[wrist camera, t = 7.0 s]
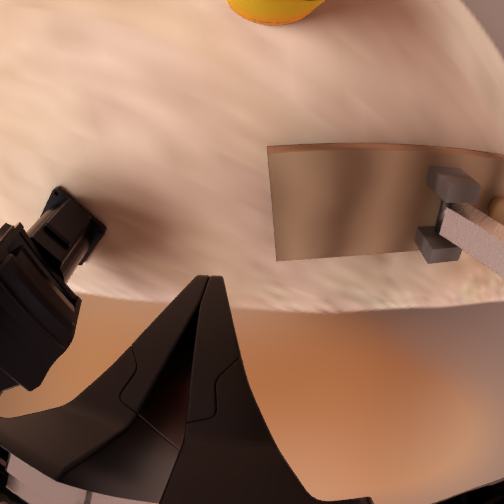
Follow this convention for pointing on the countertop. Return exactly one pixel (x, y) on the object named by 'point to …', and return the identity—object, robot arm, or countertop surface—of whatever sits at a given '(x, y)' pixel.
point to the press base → (375, 197)
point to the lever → (473, 233)
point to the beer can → (273, 10)
